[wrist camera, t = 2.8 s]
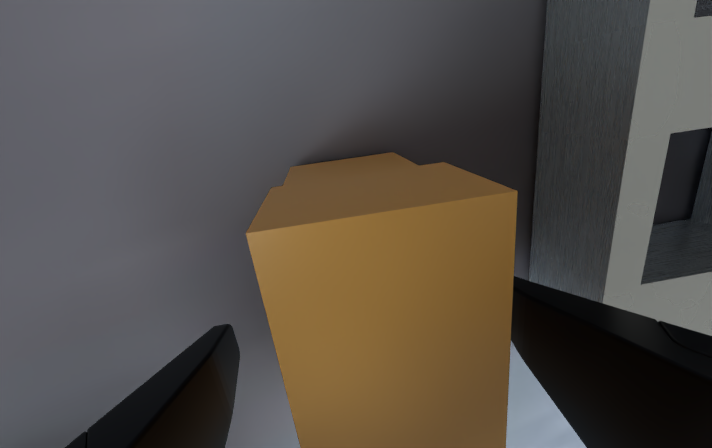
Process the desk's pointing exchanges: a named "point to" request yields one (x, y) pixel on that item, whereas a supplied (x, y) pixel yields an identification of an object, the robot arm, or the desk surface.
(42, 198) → the desk surface
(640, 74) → the rail
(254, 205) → the desk surface
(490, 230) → the clip
